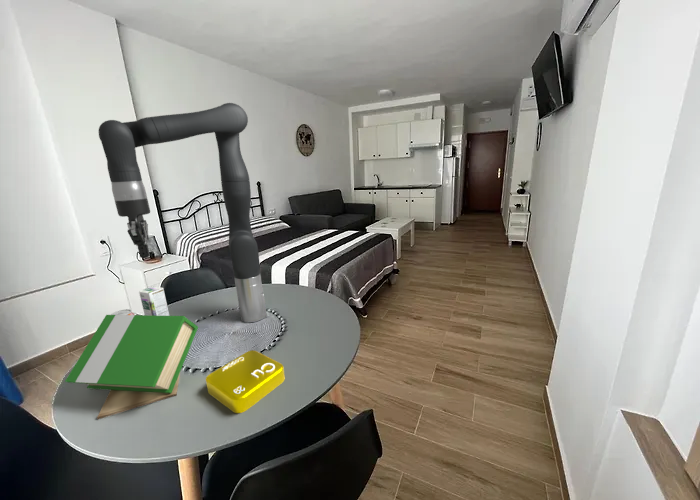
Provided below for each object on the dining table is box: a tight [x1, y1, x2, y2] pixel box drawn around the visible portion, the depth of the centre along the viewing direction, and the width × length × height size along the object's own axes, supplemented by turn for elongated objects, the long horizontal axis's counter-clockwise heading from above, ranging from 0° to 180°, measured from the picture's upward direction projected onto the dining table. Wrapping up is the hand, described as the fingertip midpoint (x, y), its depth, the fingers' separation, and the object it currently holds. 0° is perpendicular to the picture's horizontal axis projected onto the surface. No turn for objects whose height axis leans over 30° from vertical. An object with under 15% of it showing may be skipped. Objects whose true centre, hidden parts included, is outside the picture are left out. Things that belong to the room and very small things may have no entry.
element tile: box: [205, 349, 286, 414], centre depth 76 cm, size 15×15×5 cm
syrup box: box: [138, 286, 170, 316], centre depth 108 cm, size 6×6×14 cm
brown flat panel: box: [96, 372, 181, 420], centre depth 77 cm, size 16×14×1 cm
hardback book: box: [64, 314, 199, 393], centre depth 78 cm, size 18×7×24 cm
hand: (145, 256), depth 87 cm, fingers closed
